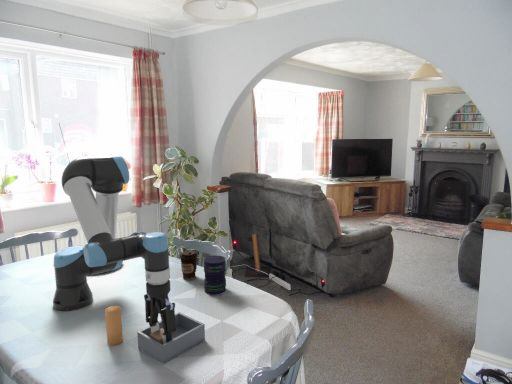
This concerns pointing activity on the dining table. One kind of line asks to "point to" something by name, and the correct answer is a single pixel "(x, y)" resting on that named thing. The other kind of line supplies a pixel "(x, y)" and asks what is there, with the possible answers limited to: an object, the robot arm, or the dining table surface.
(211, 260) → the storage jar
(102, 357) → the dining table surface
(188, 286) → the dining table surface
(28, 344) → the dining table surface
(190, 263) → the coffee cup
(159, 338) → the walnut cube
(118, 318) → the tan dome-topped cylinder
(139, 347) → the tote
